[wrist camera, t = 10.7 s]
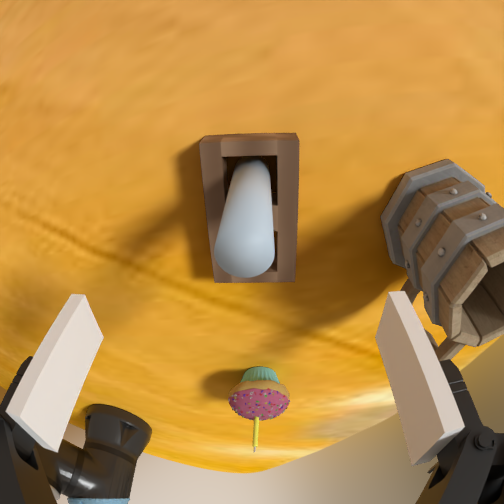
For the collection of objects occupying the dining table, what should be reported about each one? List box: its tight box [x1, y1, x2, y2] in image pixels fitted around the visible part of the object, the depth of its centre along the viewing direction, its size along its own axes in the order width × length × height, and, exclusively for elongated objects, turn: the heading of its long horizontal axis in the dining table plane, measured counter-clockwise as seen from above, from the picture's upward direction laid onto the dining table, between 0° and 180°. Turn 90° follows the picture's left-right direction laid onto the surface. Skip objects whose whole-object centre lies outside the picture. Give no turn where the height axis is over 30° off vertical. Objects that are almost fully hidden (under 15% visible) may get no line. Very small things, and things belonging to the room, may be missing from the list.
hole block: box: [199, 133, 299, 283], centre depth 29 cm, size 8×14×3 cm, turn 2°
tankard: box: [380, 159, 504, 361], centre depth 26 cm, size 20×13×15 cm, turn 159°
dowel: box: [214, 155, 275, 278], centre depth 23 cm, size 3×3×14 cm
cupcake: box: [228, 367, 290, 452], centre depth 40 cm, size 9×8×12 cm
